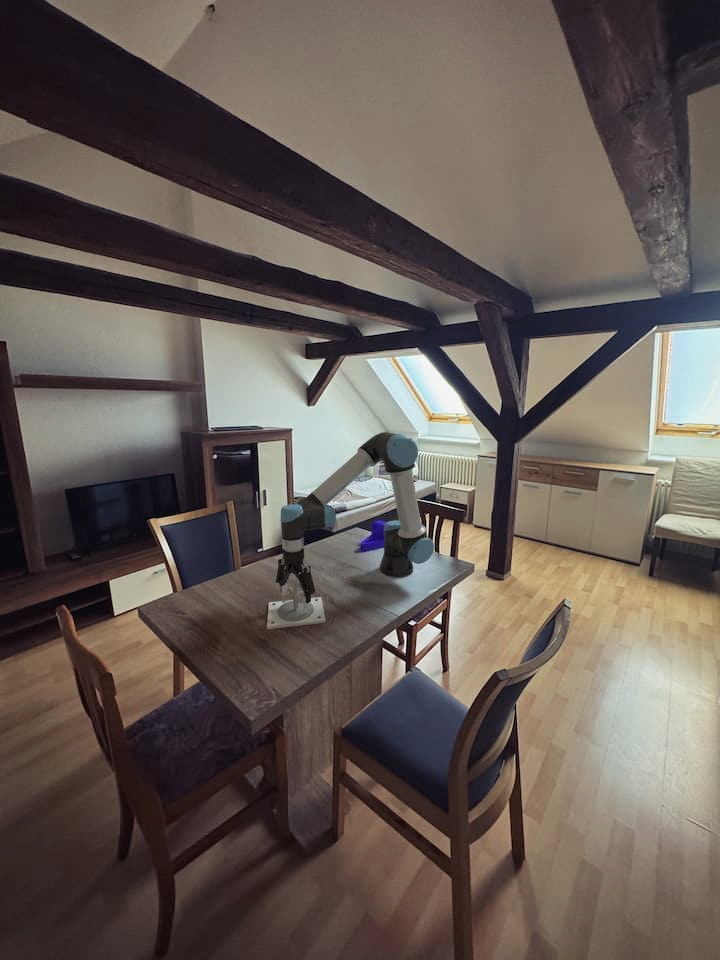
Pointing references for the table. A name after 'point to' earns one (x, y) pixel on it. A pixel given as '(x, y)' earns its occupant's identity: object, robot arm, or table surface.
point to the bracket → (374, 537)
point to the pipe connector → (294, 595)
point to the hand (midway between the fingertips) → (295, 605)
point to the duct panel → (294, 614)
